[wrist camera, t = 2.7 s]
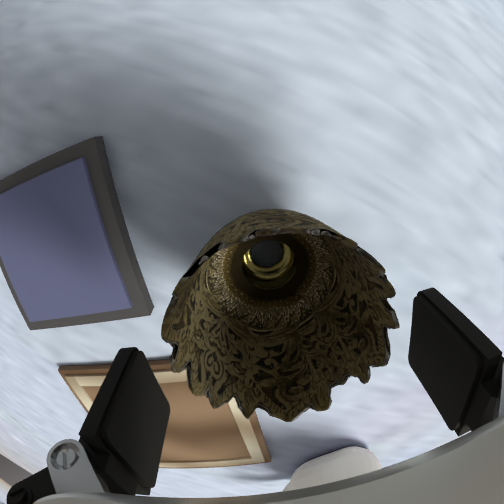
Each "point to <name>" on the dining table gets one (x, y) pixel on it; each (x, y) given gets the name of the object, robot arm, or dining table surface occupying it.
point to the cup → (279, 316)
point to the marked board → (186, 420)
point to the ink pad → (69, 242)
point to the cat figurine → (334, 468)
